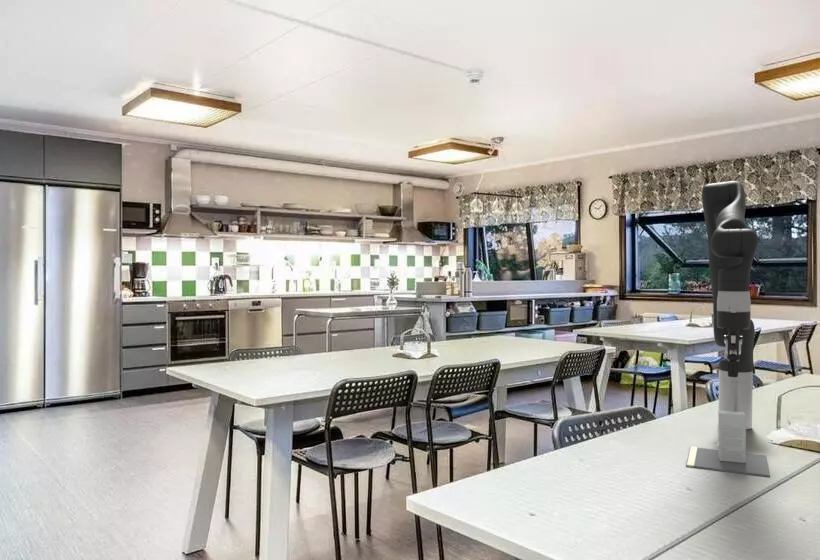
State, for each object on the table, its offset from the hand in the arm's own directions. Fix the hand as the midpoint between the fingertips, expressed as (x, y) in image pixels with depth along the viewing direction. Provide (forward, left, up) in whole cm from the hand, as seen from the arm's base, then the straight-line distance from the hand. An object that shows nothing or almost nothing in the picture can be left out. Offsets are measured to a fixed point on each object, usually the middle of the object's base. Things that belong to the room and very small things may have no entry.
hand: (732, 374), depth 163 cm
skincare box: (0, 0, -22) cm, 22 cm away
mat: (0, -1, -22) cm, 22 cm away
